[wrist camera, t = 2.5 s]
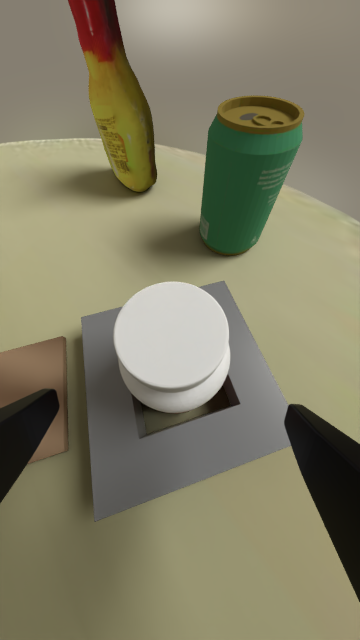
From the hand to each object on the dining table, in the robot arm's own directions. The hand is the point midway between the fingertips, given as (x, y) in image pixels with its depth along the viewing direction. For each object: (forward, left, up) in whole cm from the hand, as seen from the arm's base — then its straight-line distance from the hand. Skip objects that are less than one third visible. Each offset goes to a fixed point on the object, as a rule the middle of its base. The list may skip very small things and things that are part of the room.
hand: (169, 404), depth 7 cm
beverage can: (+19, -13, -10) cm, 25 cm away
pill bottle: (+3, -1, -10) cm, 11 cm away
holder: (+3, -1, -10) cm, 10 cm away
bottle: (+37, -3, -10) cm, 38 cm away
